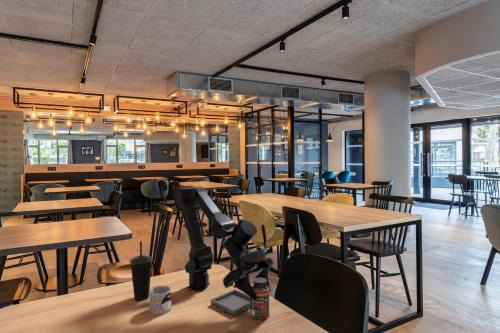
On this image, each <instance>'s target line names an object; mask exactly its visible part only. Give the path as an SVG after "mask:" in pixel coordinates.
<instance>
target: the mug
mask: <svg viewBox="0 0 500 333" xmlns="http://www.w3.org/2000/svg"><path fill="white" fill-rule="evenodd" d="M171 310H172V287H171V285H157V286H154V287H151V288H150V290H149V312H150V314H151V315H153V316H162V315H165V314H168V313H169V312H170V311H171Z"/></svg>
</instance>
